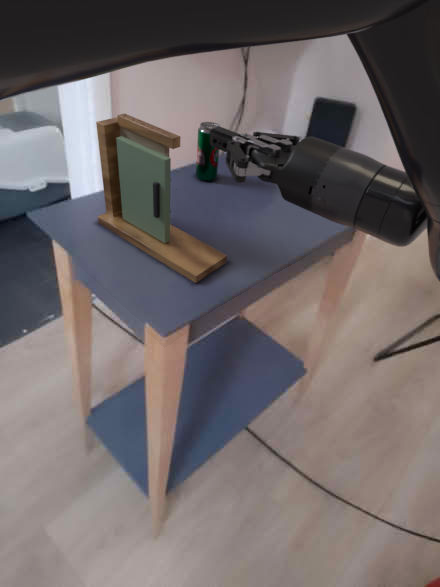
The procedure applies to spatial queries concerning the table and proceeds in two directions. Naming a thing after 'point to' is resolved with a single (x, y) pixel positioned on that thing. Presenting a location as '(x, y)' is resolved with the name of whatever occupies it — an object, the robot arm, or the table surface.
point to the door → (145, 188)
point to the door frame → (176, 253)
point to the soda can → (206, 153)
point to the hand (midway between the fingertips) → (213, 135)
